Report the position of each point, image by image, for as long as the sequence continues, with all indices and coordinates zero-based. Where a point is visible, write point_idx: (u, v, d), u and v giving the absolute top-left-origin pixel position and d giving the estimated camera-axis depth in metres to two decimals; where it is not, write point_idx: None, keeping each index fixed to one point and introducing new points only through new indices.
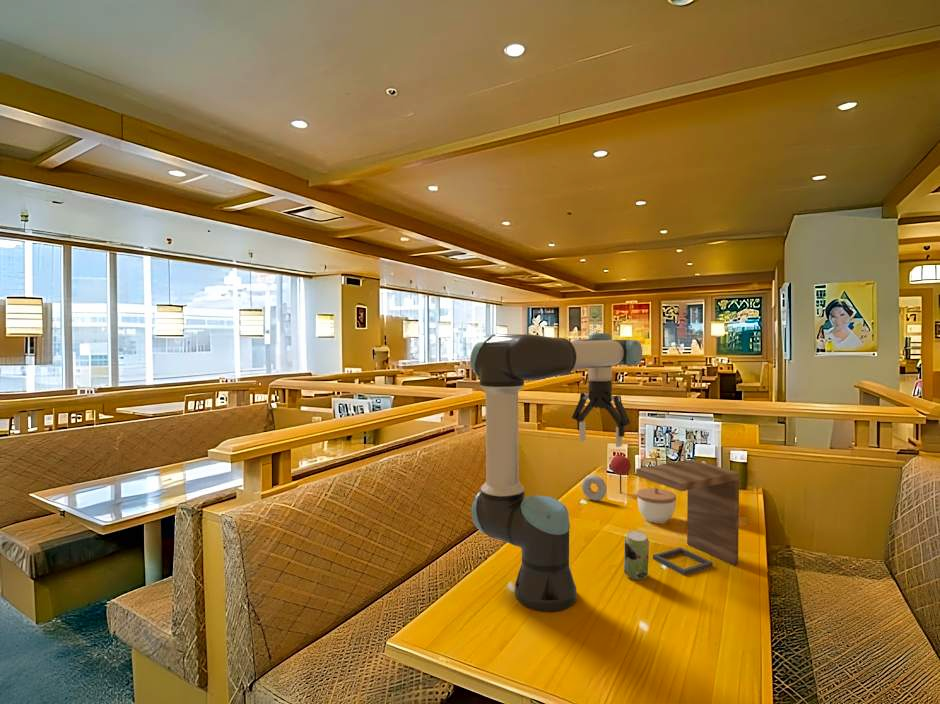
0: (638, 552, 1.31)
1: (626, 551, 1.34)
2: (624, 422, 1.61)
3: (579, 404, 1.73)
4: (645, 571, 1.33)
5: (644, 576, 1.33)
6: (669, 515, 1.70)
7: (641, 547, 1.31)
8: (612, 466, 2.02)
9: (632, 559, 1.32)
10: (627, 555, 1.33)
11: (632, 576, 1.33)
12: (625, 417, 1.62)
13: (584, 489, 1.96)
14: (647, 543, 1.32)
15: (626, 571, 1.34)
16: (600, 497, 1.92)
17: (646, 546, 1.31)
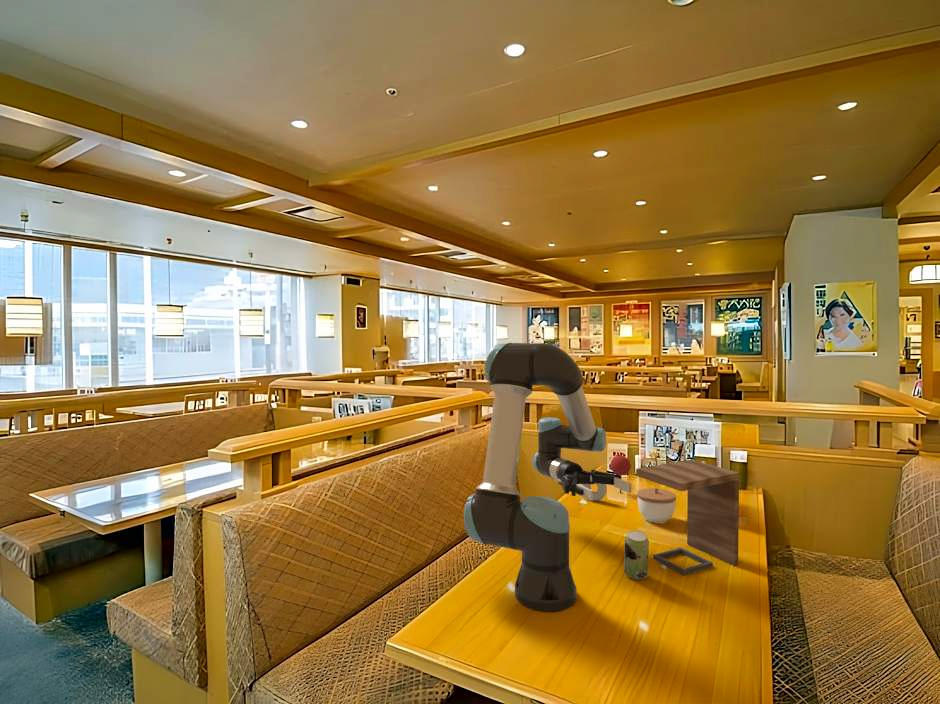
0: (638, 552, 1.31)
1: (626, 551, 1.34)
2: (617, 475, 1.54)
3: (564, 479, 1.51)
4: (645, 571, 1.33)
5: (644, 576, 1.33)
6: (669, 515, 1.70)
7: (641, 547, 1.31)
8: (612, 466, 2.02)
9: (632, 559, 1.32)
10: (627, 555, 1.33)
11: (632, 576, 1.33)
12: None
13: None
14: (647, 543, 1.32)
15: (626, 571, 1.34)
16: (600, 497, 1.92)
17: (646, 546, 1.31)
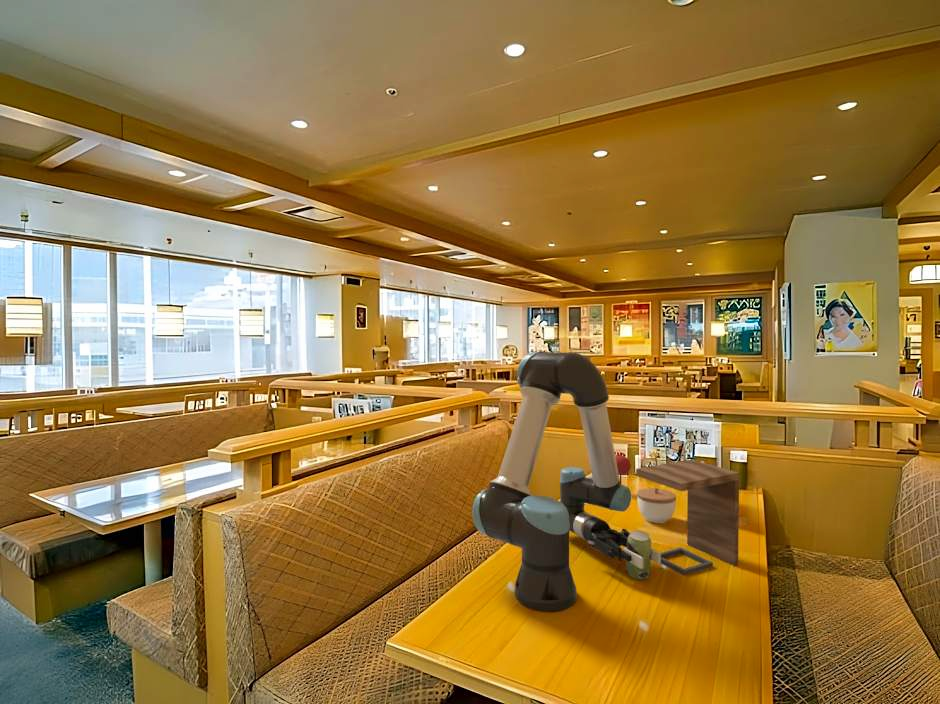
0: (640, 552, 1.31)
1: None
2: None
3: (600, 541, 1.39)
4: (647, 571, 1.33)
5: (646, 576, 1.33)
6: (669, 515, 1.70)
7: (643, 547, 1.31)
8: None
9: None
10: None
11: (634, 576, 1.33)
12: None
13: None
14: (650, 543, 1.32)
15: (628, 571, 1.34)
16: None
17: (649, 546, 1.31)
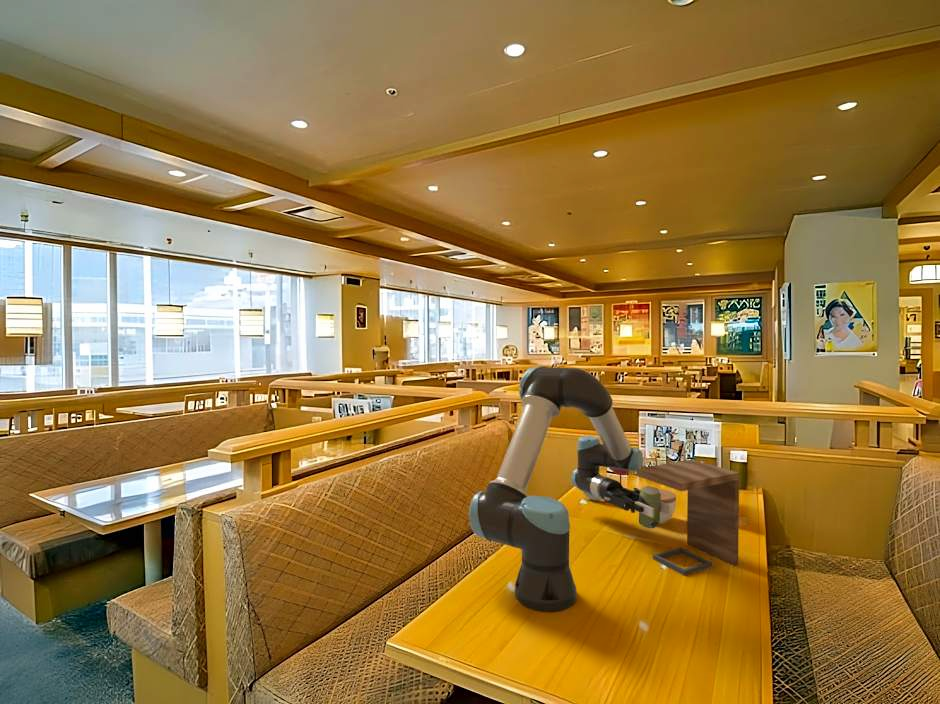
0: (651, 503, 1.51)
1: None
2: None
3: (615, 497, 1.59)
4: (657, 521, 1.52)
5: (656, 525, 1.52)
6: (669, 515, 1.70)
7: (654, 499, 1.50)
8: None
9: None
10: None
11: (646, 525, 1.53)
12: None
13: None
14: (659, 496, 1.51)
15: (641, 521, 1.54)
16: None
17: (658, 498, 1.51)
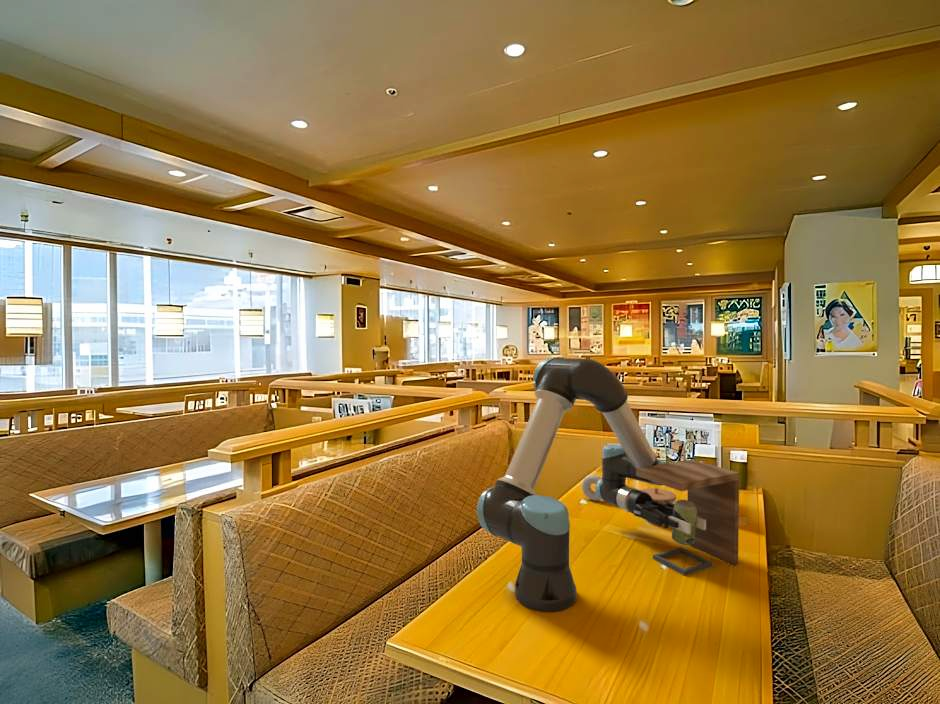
0: (687, 519, 1.39)
1: None
2: None
3: (646, 510, 1.47)
4: (693, 537, 1.41)
5: (692, 542, 1.41)
6: None
7: (690, 514, 1.39)
8: None
9: None
10: None
11: (681, 542, 1.41)
12: None
13: (584, 489, 1.96)
14: (695, 510, 1.40)
15: (675, 537, 1.42)
16: None
17: (695, 513, 1.40)
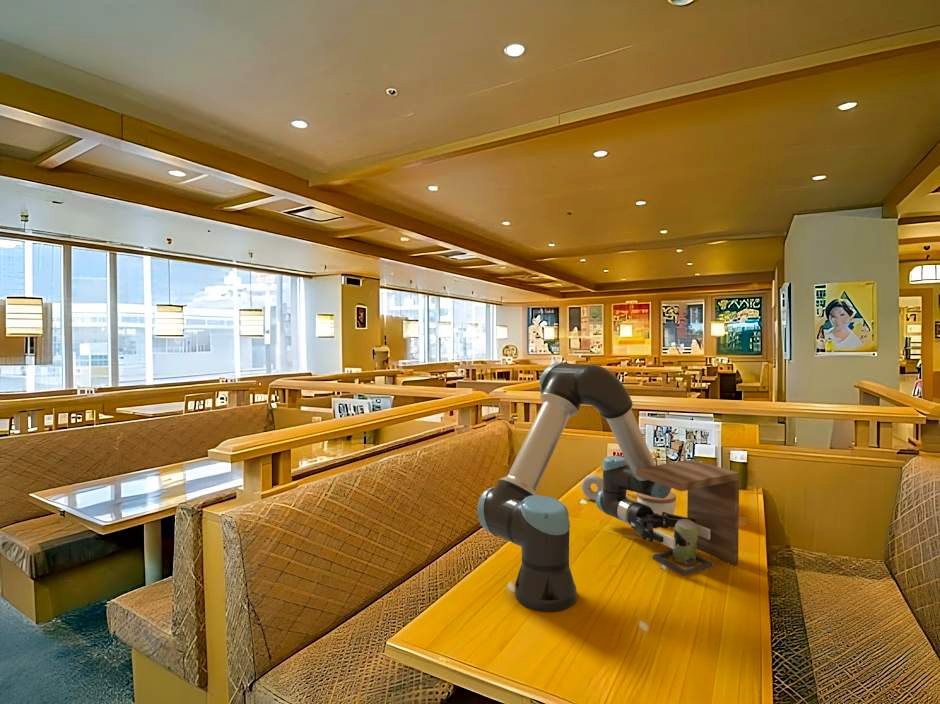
0: (688, 539, 1.39)
1: (675, 538, 1.41)
2: (691, 519, 1.51)
3: (639, 523, 1.48)
4: (694, 557, 1.41)
5: (693, 561, 1.41)
6: None
7: (690, 535, 1.38)
8: None
9: (682, 546, 1.40)
10: (677, 542, 1.41)
11: (681, 561, 1.41)
12: None
13: (584, 489, 1.96)
14: (696, 531, 1.39)
15: (675, 556, 1.42)
16: None
17: (696, 534, 1.39)
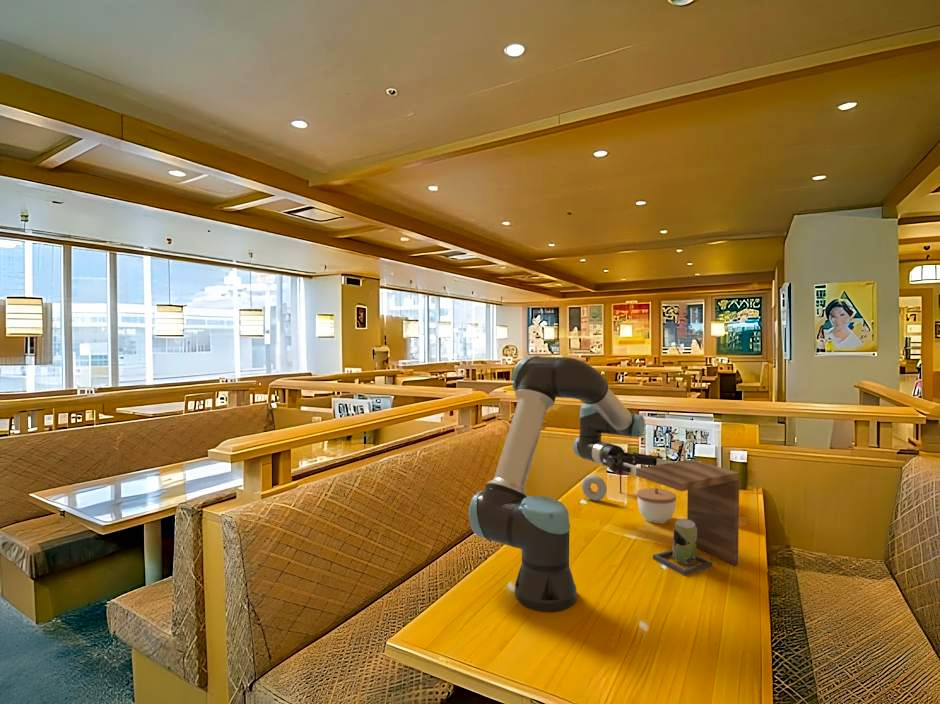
0: (687, 538, 1.39)
1: (675, 537, 1.42)
2: None
3: (609, 459, 1.59)
4: (694, 556, 1.41)
5: (693, 561, 1.41)
6: (669, 515, 1.70)
7: (690, 534, 1.39)
8: None
9: (682, 545, 1.40)
10: (676, 541, 1.41)
11: (681, 561, 1.41)
12: None
13: (584, 489, 1.96)
14: (696, 530, 1.40)
15: (675, 557, 1.42)
16: (600, 497, 1.92)
17: (695, 533, 1.39)
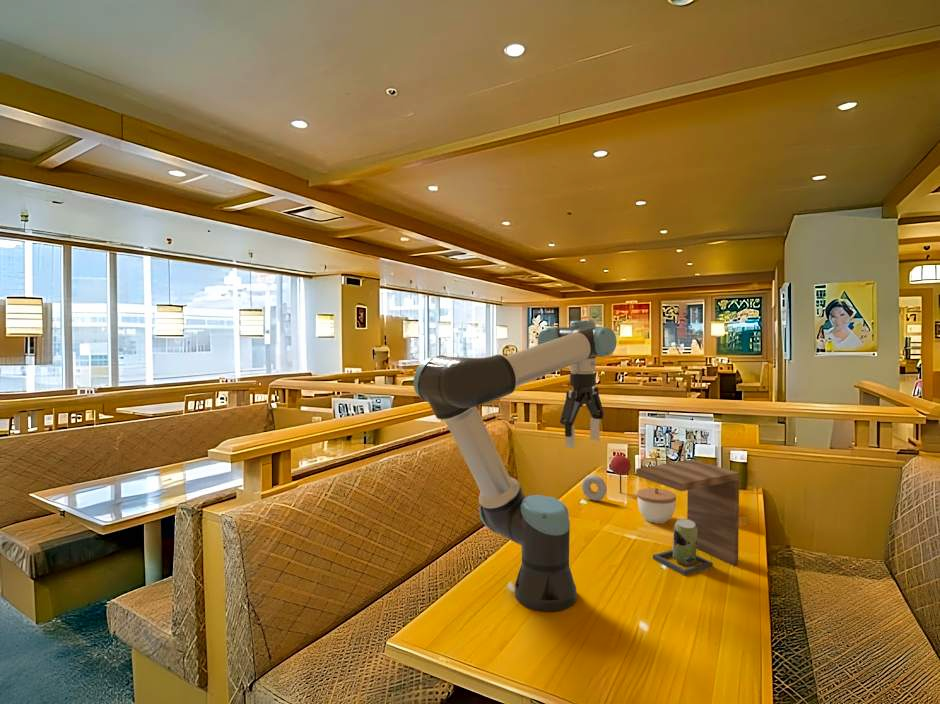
0: (687, 538, 1.39)
1: (675, 538, 1.42)
2: None
3: None
4: (694, 556, 1.41)
5: (693, 561, 1.41)
6: (669, 515, 1.70)
7: (690, 534, 1.39)
8: (612, 466, 2.02)
9: (682, 545, 1.40)
10: (676, 541, 1.41)
11: (681, 561, 1.41)
12: (564, 415, 1.45)
13: (584, 489, 1.96)
14: (696, 530, 1.40)
15: (675, 556, 1.42)
16: (600, 497, 1.92)
17: (695, 533, 1.39)
